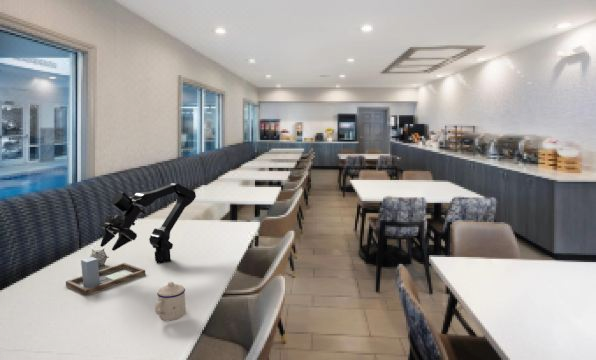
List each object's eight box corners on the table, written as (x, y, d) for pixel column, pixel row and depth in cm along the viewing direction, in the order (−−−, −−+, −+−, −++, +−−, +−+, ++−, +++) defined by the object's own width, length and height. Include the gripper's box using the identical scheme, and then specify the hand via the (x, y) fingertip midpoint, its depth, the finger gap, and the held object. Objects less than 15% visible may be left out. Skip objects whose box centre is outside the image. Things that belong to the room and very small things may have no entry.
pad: (118, 272, 174) (117, 272, 174) (127, 276, 170) (127, 275, 170) (104, 277, 169) (104, 276, 169) (113, 281, 165) (113, 280, 165)
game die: (101, 274, 182) (97, 262, 175) (85, 267, 183) (81, 255, 176) (114, 260, 188) (111, 248, 181) (99, 253, 189) (95, 241, 183)
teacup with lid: (171, 306, 141) (169, 275, 140) (191, 311, 138) (190, 279, 136) (146, 322, 131) (144, 288, 129) (167, 327, 127) (165, 293, 125)
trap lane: (124, 266, 181) (124, 262, 181) (145, 274, 172) (145, 270, 172) (66, 285, 161) (65, 281, 160) (86, 295, 151) (85, 290, 151)
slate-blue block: (94, 282, 164) (92, 256, 163) (99, 284, 162) (97, 259, 160) (83, 285, 161) (80, 260, 159) (88, 288, 158) (86, 262, 156)
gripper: (104, 204, 173) (80, 235, 165) (128, 209, 162) (104, 242, 155) (122, 218, 180) (100, 248, 173) (146, 224, 169) (124, 256, 162)
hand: (106, 248), depth 165 cm, fingers open, 9 cm apart
